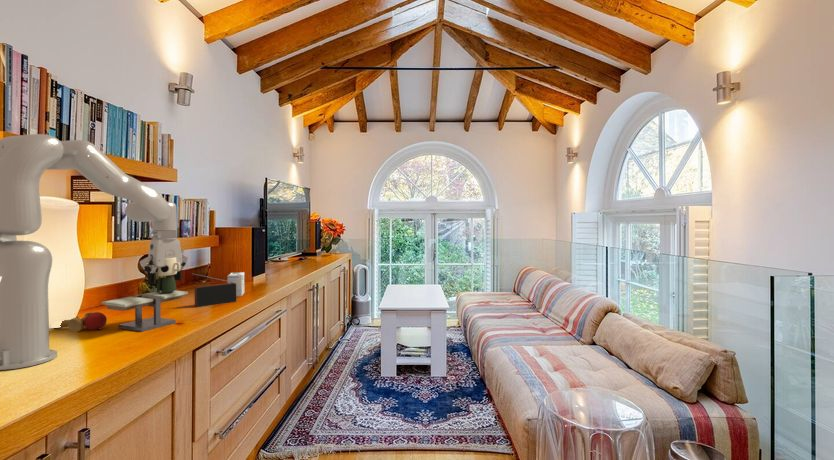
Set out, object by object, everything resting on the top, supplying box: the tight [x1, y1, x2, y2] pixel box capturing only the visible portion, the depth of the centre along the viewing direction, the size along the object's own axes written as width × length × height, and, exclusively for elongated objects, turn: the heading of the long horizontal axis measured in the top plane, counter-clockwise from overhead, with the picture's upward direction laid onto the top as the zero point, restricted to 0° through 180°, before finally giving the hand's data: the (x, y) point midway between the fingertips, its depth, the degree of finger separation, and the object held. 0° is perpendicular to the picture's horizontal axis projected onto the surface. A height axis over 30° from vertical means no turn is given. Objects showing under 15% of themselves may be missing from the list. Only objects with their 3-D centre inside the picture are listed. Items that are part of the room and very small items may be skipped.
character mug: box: [154, 257, 180, 293], centre depth 144 cm, size 11×7×13 cm, turn 88°
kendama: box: [60, 311, 108, 333], centre depth 133 cm, size 8×6×18 cm
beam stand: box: [118, 294, 177, 333], centre depth 138 cm, size 12×12×10 cm
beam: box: [101, 290, 189, 312], centre depth 138 cm, size 22×12×3 cm, turn 158°
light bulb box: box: [227, 271, 245, 297], centre depth 196 cm, size 11×7×11 cm, turn 17°
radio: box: [190, 272, 237, 308], centre depth 174 cm, size 19×3×15 cm, turn 136°
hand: (165, 282), depth 143 cm, fingers open, 9 cm apart
